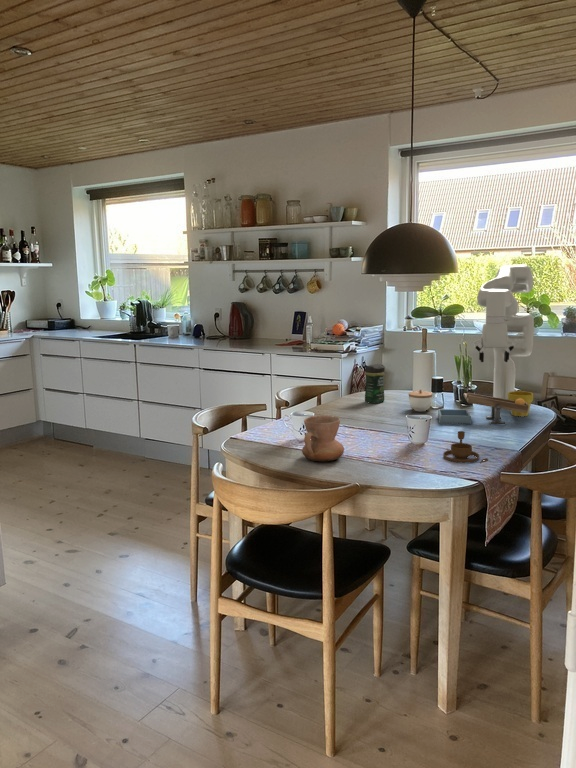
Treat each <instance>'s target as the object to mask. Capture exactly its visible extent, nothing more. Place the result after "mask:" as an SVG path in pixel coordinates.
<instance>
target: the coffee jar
mask: <svg viewBox="0 0 576 768" xmlns="http://www.w3.org/2000/svg"><path fill="white" fill-rule="evenodd" d="M385 368H386V367H385V366H384V364H379V363H376V364H374V363H373V364H370V365H367V366H365V370H364V372H365V373H364V374H365V389H364V390H365V392H364V393H365V394H364V402H365V403H367V402H369V403H368V404H380V403H383V402H382V401H384V402H385V389H384V387H385V385H384V384H385V383H384V379H385V378H384V377H385V373H386V372H385V370H386V369H385ZM379 402H380V403H379Z"/></svg>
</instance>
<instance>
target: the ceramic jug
mask: <svg viewBox="0 0 576 768" xmlns="http://www.w3.org/2000/svg"><path fill="white" fill-rule="evenodd" d="M340 423H341V419H340V417H339V416H336V415H334V416H332V415H329V414H326V415H325V414H319V415H312V416H309V417H307V418H305V419H304V420H303V424H304V427H305V430H306V433H305V434H304V439H303V440H304V445H303V447H302V450H301V452H302V455H303V456H304V457H305V458H306V459H308V460H311V461H315V462H325V463H326V462H332V461H335V460H337V459H339V458H341V457H342V456H343V454H344V452H345V448H344V445H343V444H342V443H341V442H340V441H339V440H337V439H336V437H337V434H338V432H339V431H338V430H339V428H340Z"/></svg>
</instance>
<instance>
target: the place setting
mask: <svg viewBox="0 0 576 768" xmlns="http://www.w3.org/2000/svg"><path fill="white" fill-rule="evenodd" d="M465 435H466V431H464V430H459V431H457V439H458V440H459V442H457V443H456V442H455V443H452V444H451V445H450V449H447V450H446V451H443V458H444V459H446V461H448V462H452V461H453V463H458V462H462V463H461V464H466V463H465V462H470V463H474V461H475V462H476V461H478V460H479V459H480V454H479V453H478V452H475V451H473V445H472V444H469V443H465V442H463V440H464V439H465ZM449 455H452V456H453V457H454V458H452V457H449ZM472 455H474V456H473V457H475V456H476V457H477V458H476V457H475V458H469V457H470V456H472ZM468 458H469V459H468ZM483 460H485V461H483ZM488 461H489V458H488V457H485V458H481V460H480V462H479V463H480V464H482V463H486V462H488ZM481 462H482V463H481Z"/></svg>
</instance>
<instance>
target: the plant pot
mask: <svg viewBox="0 0 576 768" xmlns="http://www.w3.org/2000/svg"><path fill="white" fill-rule="evenodd" d="M519 398H521V399H523V400H524V401H525V402H526V403H527V404H528V406H529V407H528V411H527V413H523V412H517V411H512V410H510V413H511V415H512V416H513V415H514V417H518V416H519V417H520V416H521V417H523V418H524V416H525V417H528V416H529V413H530V408H531V406H532V405H531V404H532V402H533V401H534V393H533V392H530V391H523V390H514V391H512V392H509V393H508V400H513V401H516V400H517V399H519Z"/></svg>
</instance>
